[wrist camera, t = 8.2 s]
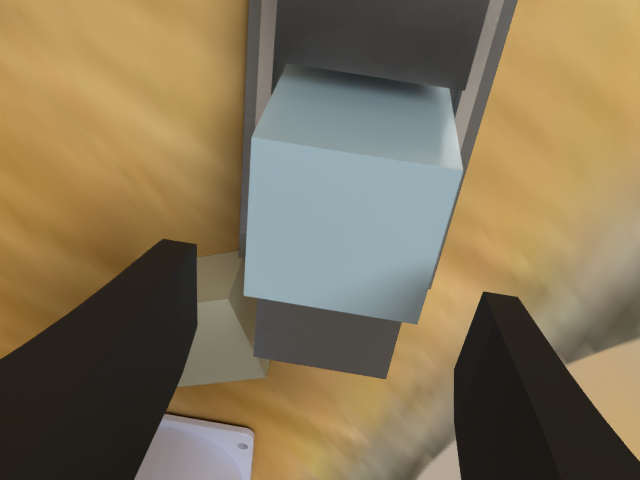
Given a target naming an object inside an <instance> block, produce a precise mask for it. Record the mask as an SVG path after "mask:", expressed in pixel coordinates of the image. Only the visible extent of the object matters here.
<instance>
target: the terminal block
mask: <svg viewBox="0 0 640 480" xmlns="http://www.w3.org/2000/svg"><path fill="white" fill-rule="evenodd" d="M238 257H239V250H238V251H232V252H227V253H221V254H215V255H209V256H203V257H197V319H198V327H197V330H196V333H195V336H194V340H193V343H192V346H191V349H190V353H189V356H188V359H187V362H186V365H185V368H184V371H183V374H182V376H181V379H180V381H179V383H178V385H177V387H185V386H194V385H203V384H213V383H222V382H231V381H240V380H249V379H259V378H266V377H267V373H268V368H269V364H270V359H264V358H258V357H253V353H254V339H255V324H256V310H257V298H255V297H249V296H244V277H245V259H243V258H238Z"/></svg>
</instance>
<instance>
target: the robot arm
mask: <svg viewBox="0 0 640 480" xmlns="http://www.w3.org/2000/svg"><path fill="white" fill-rule="evenodd" d="M197 327H198V319H197V244H191V243H185V242H179V241H173V240H167V239H162V240H161V241H160V242H158V243H157V244H156V245H154V246H153V247H152V248H151V249H149V250H148V251H147V252H146V253H144V254H143V255H142V256H141V257H140V258H138V259H137V260H136V261H135V262H133V263H132V264H131V265H130V266H129V267H127V268H126V269H125V270H124V271H122V272H121V273H120V274H119V275H117V276H116V277H115V278H114V279H113V280H111V281H110V282H109V283H108V284H106V285H105V286H104V287H102V288H101V289H100V290H98V291H97V292H96V293H95V294H93V295H92V296H91V297H89V298H88V299H87V300H85V301H84V302H83V303H82V304H80V305H79V306H78V307H76V308H75V309H74V310H72V311H71V312H70V313H68V314H67V315H66V316H64V317H63V318H61V319H60V320H58V321H57V322H55V323H54V324H53V325H51V326H50V327H48V328H47V329H45V330H44V331H43V332H41V333H40V334H38V335H37V336H35V337H34V338H32V339H31V340H30V341H28V342H27V343H25V344H24V345H22V346H21V347H19V348H17V349H16V350H14V351H13V352H11V353H10V354H8V355H7V356H5V357H3V358H2V359H0V480H251V475H252V462H253V450H254V437H255V435H254V433H253V432H252V431H251V430H250V429H248V428H244V427H238V426H232V425H227V424H221V423H215V422H209V421H203V420H198V419H192V418H186V417H180V416H174V415H169V414H165V412H166V410H167V408H168V405H169V403H170V401H171V399H172V397H173V394H174V392H175V390H176V388H177V385H178V383H179V381H180V379H181V376H182V374H183V371H184V368H185V365H186V362H187V359H188V356H189V353H190V349H191V346H192V343H193V340H194V336H195V333H196V330H197ZM454 425H455V433H456V441H457V449H458V457H459V466H460V473H461V480H640V461H639V460H638V459H637V458H636V457H635V456H634V454H632V452H631V451H630V450H629V449H628V447H627V446H626V445H625V444H624V442H623V441H622V440H621V439H620V437H619V436H618V435H617V434H616V433H615V431H614V430H613V429H612V428H611V427H610V425H609V424H608V423H607V422H606V420H605V419H604V418H603V417H602V415H601V414H600V413H599V411H598V410H597V409H596V408H595V406H594V405H593V404H592V402H591V401H590V400H589V398H588V397H587V396H586V394H585V393H584V392H583V390H582V389H581V388H580V386H579V385H578V384H577V382H576V381H575V379H574V378H573V377H572V375H571V374H570V373H569V371H568V370H567V368H566V367H565V365H564V364H563V363H562V361H561V360H560V358H559V357H558V355H557V354H556V352H555V351H554V350H553V348H552V347H551V345H550V344H549V342H548V341H547V339H546V338H545V336H544V335H543V333H542V332H541V330H540V329H539V328H538V326H537V325H536V323H535V322H534V320H533V319H532V317H531V316H530V314H529V313H528V311H527V310H526V308H525V307H524V305H523V304H522V302H521V301H520V300H519V298H518V297H514V296H508V295H502V294H496V293H490V292H483V294H482V296H481V299H480V302H479V304H478V307H477V310H476V312H475V315H474V318H473V320H472V323H471V326H470V328H469V331H468V334H467V336H466V339H465V342H464V344H463V347H462V350H461V352H460V355H459V358H458V360H457V363H456V366H455V368H454Z"/></svg>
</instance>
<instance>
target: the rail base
mask: <svg viewBox="0 0 640 480" xmlns="http://www.w3.org/2000/svg"><path fill="white" fill-rule="evenodd" d="M517 1H518V0H249V12H248V36H247V61H246V85H245V110H244V134H243V159H242V183H241V208H240V232H239V257H238V258H243V259H245V257H246V237H247V217H248V197H249V178H250V158H251V138H252V135H253V133H254V131H255V129H256V127H257V125H258V123H259V121H260V119H261V117H262V114H263V112H264V110H265V108H266V106H267V104H268V102H269V100H270V98H271V96H272V94H273V92H274V90H275V88H276V86H277V84H278V81H279V79H280V77H281V75H282V73H283V71H284V69H285V67H286V65H287V63H289V64H295V65H302V66H308V67H314V68H321V69H327V70H334V71H340V72H347V73H353V74H360V75H366V76H372V77H379V78H385V79H392V80H398V81H405V82H411V83H418V84H424V85H430V86H437V87H443V88H449V90H450V96H451V102H452V108H453V113H454V119H455V125H456V131H457V137H458V143H459V149H460V155H461V160H462V166H463V173H462V177H461V180H460V183H459V187H458V190H457V194H456V197H455V200H454V204H453V207H452V210H451V214H450V217H449V220H448V224H447V227H446V230H445V234H444V237H443V240H442V244H441V247H440V250H439V254H438V257H437V260H436V264H435V267H434V270H433V274H432V277H431V281H430V284H429V287H428V289H431V286H432V282H433V279H434V276H435V272H436V269H437V266H438V263H439V259H440V256H441V253H442V249H443V246H444V243H445V239H446V236H447V233H448V229H449V226H450V223H451V219H452V216H453V213H454V210H455V206H456V203H457V200H458V196H459V193H460V190H461V186H462V183H463V180H464V176H465V173H466V170H467V166H468V163H469V160H470V157H471V153H472V150H473V147H474V143H475V140H476V137H477V133H478V130H479V127H480V123H481V120H482V117H483V113H484V110H485V107H486V104H487V100H488V97H489V94H490V90H491V87H492V84H493V80H494V77H495V74H496V70H497V67H498V64H499V60H500V57H501V54H502V51H503V47H504V44H505V41H506V37H507V34H508V31H509V27H510V24H511V21H512V17H513V14H514V11H515V8H516V4H517ZM400 326H401V322H399V321H393V320H387V319H381V318H375V317H369V316H363V315H357V314H351V313H345V312H339V311H333V310H327V309H321V308H315V307H309V306H303V305H297V304H291V303H285V302H279V301H273V300H267V299H261V298H257V310H256V324H255V339H254V353H253V357H258V358H264V359H270V360H276V361H281V362H287V363H293V364H299V365H305V366H311V367H317V368H323V369H329V370H335V371H341V372H346V373H352V374H358V375H364V376H370V377H376V378H382V379H386V377H387V373H388V370H389V366H390V362H391V359H392V355H393V351H394V348H395V344H396V340H397V337H398V333H399V330H400Z"/></svg>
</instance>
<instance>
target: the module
mask: <svg viewBox="0 0 640 480" xmlns="http://www.w3.org/2000/svg"><path fill="white" fill-rule="evenodd" d="M462 173H463V166H462V160H461V155H460V149H459V143H458V137H457V131H456V125H455V119H454V113H453V108H452V102H451V96H450V90H449V88H443V87H437V86H430V85H424V84H418V83H411V82H405V81H398V80H392V79H385V78H379V77H372V76H366V75H360V74H353V73H347V72H340V71H334V70H327V69H321V68H314V67H308V66H302V65H295V64H289V63H287V65H286V67H285V69H284V71H283V73H282V75H281V77H280V79H279V81H278V84H277V86H276V88H275V90H274V92H273V94H272V96H271V98H270V100H269V102H268V104H267V106H266V108H265V110H264V112H263V114H262V117H261V119H260V121H259V123H258V125H257V127H256V129H255V131H254V133H253V135H252V138H251V158H250V178H249V197H248V217H247V237H246V257H245V277H244V296H249V297H255V298H261V299H267V300H273V301H279V302H285V303H291V304H297V305H303V306H309V307H315V308H321V309H327V310H333V311H339V312H345V313H351V314H357V315H363V316H369V317H375V318H381V319H387V320H393V321H399V322H405V323H411V324H418V321H419V317H420V314H421V311H422V307H423V304H424V301H425V297H426V294H427V291H428V287H429V284H430V281H431V277H432V274H433V270H434V267H435V264H436V260H437V257H438V254H439V250H440V247H441V244H442V240H443V237H444V234H445V230H446V227H447V224H448V220H449V217H450V214H451V210H452V207H453V204H454V200H455V197H456V194H457V190H458V187H459V183H460V180H461V177H462Z"/></svg>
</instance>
